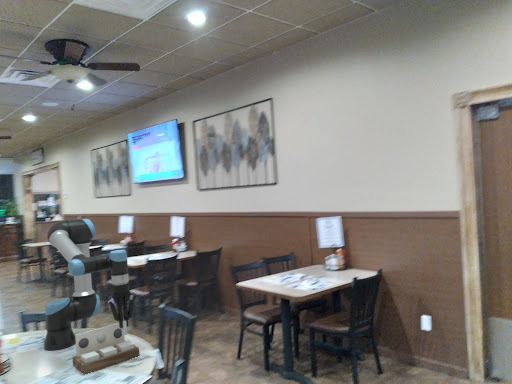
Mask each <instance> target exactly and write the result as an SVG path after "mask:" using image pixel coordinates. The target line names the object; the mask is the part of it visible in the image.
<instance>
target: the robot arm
mask: <svg viewBox="0 0 512 384" xmlns="http://www.w3.org/2000/svg"><path fill="white" fill-rule="evenodd" d="M95 237H96V228H95V225H94V223H93V221H91V220H90V219H89V218H77V219H69V220H59V221H57V222H55V223H53V224H52V225H50V227H49V228H48V230H47V233H46V239H47V242H48V243H49V244H50V245H51V246H52V247H54V248H56V250H58V252H59V253H60V254H61V256H62V257H63V258H64V260H66V262H67V269H68V273H69V275H70V276H71V277H73V283H74V293H73V294H72V296H71V297H72V299H70V297H61V298H57V299H53V300H52V301H50V302H48V303H47V304H46V306H45V313H44V314H45V322H46V336H45V339H44V342H43V343H44V344H43V347H44V350H45V349H46V350H47V351H59V350H62V349H66V348H69V347H72V346H74V345H76V339H75V334H76V333H75V332H74V330H73V327H72V323H74V322H76V321H81V320H84V319H89V318H91V317H95V316H97V315H98V313H99V312H100V308H101V300H100V296H99V294H97V293H96V291H95V289H93V286H92V284H93V283H92V274H93V273H98V272H104V271H110V273H111V284H112V286H111V288H112V296H111V299H110V300H108V301H107V304H108V305H109V307H110V310H111V313H112V316H113V319H114V320H115V321H116V322H118V323H119V327H120V328H121V330H122V335H124V336H128V327H129V320H130V319H131V318H132V317H133V310H134V303H135V300H136V296H135V295H133V294H131V292H130V291H131V290H130V283H129V281H130V280H129V277H130V276H129V267H128V254H127V251H126V250H125V249H116V250H111V251H110V252H109V253H103V254H100V255H93V256H91V255H90V245H91V244H92V242H93V241H92V240H93V239H94V238H95ZM128 301H129V302H128ZM115 304H116V306H115ZM116 307H117V308H116ZM46 350H45V351H46Z"/></svg>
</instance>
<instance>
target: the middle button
mask: <svg viewBox="0 0 512 384" xmlns="http://www.w3.org/2000/svg"><path fill="white" fill-rule="evenodd" d="M115 354H117V348H115V347H113V346H109V347H106V348H103V349H100V350H99V355H100V356H101V357H103V358H105V357H108V356H111V355H115Z"/></svg>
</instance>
